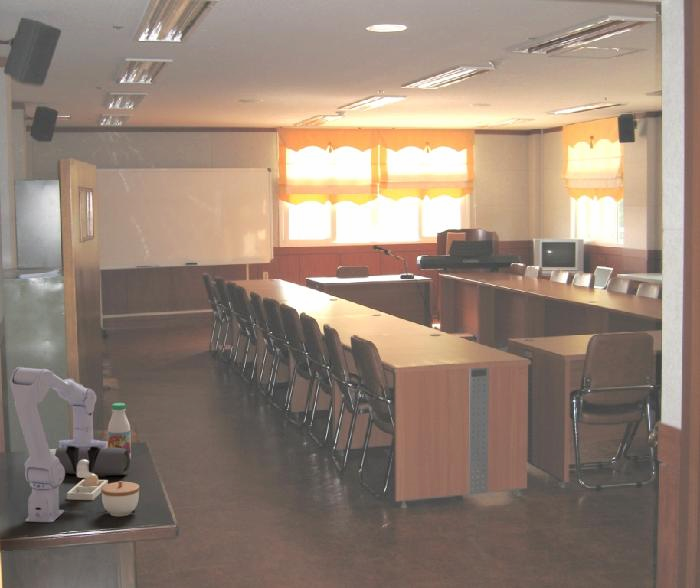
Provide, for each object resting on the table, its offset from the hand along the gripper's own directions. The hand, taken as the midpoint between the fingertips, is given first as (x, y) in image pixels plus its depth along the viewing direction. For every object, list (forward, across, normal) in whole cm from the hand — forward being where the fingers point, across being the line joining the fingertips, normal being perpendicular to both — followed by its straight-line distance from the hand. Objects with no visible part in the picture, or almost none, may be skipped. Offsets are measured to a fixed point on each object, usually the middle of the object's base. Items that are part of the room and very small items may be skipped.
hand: (83, 471), depth 295 cm
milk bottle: (+8, +2, -41) cm, 42 cm away
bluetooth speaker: (+8, +5, -22) cm, 24 cm away
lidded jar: (+8, -15, +13) cm, 22 cm away
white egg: (+1, 0, 0) cm, 1 cm away
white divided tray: (+8, 0, -3) cm, 9 cm away
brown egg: (+8, 0, -7) cm, 10 cm away
